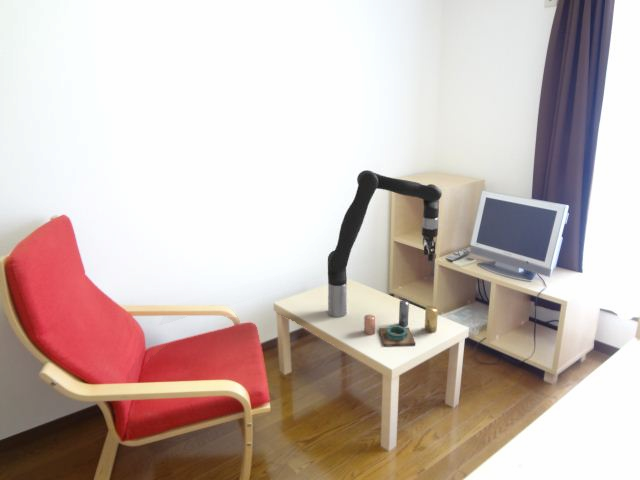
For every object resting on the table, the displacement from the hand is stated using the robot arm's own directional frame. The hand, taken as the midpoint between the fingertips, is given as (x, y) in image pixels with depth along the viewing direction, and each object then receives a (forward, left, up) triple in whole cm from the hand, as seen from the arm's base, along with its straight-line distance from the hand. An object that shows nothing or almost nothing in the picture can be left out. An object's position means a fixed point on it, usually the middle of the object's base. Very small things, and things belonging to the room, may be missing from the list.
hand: (428, 257), depth 222 cm
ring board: (-19, -26, -29) cm, 44 cm away
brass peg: (-2, -20, -29) cm, 35 cm away
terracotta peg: (-31, -20, -29) cm, 47 cm away
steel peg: (-14, -14, -29) cm, 35 cm away
